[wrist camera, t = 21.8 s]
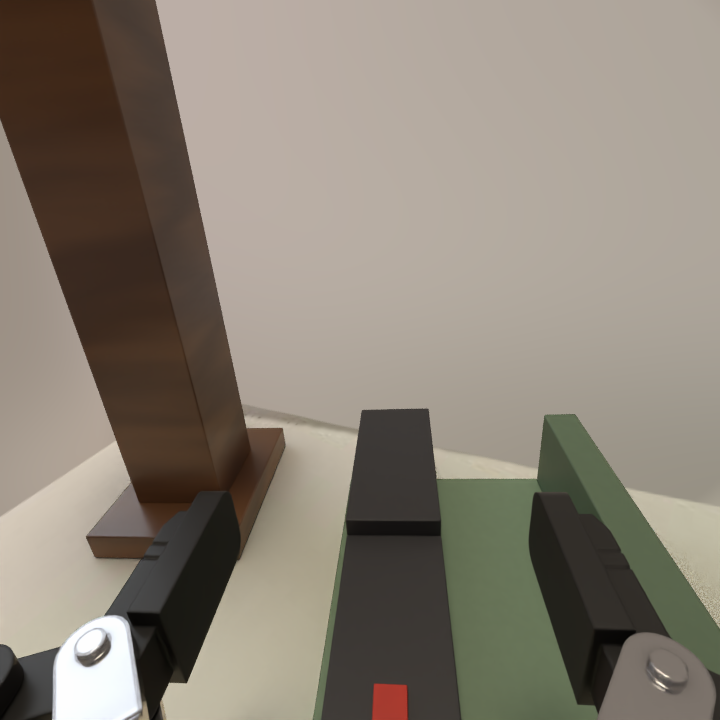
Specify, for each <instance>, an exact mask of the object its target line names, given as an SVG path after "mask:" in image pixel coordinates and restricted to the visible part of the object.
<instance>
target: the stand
mask: <svg viewBox="0 0 720 720" xmlns="http://www.w3.org/2000/svg"><path fill="white" fill-rule="evenodd" d="M0 120H1V122H2V125H3V128H4V131H5V133H6V136H7V139H8V142H9V144H10V147H11V150H12V153H13V156H14V158H15V161H16V164H17V167H18V170H19V172H20V175H21V178H22V181H23V183H24V186H25V189H26V192H27V194H28V197H29V200H30V203H31V205H32V208H33V211H34V214H35V217H36V219H37V222H38V225H39V228H40V230H41V233H42V236H43V238H44V241H45V244H46V247H47V250H48V253H49V255H50V258H51V261H52V264H53V266H54V269H55V272H56V274H57V277H58V280H59V283H60V286H61V289H62V291H63V294H64V297H65V299H66V302H67V305H68V308H69V310H70V313H71V316H72V319H73V322H74V324H75V327H76V330H77V333H78V335H79V338H80V341H81V344H82V346H83V349H84V352H85V355H86V357H87V360H88V363H89V366H90V369H91V372H92V374H93V377H94V380H95V383H96V385H97V388H98V391H99V394H100V396H101V399H102V402H103V405H104V408H105V410H106V413H107V416H108V418H109V421H110V424H111V427H112V430H113V432H114V435H115V438H116V441H117V444H118V446H119V449H120V452H121V455H122V457H123V460H124V463H125V466H126V468H127V471H128V474H129V477H130V480H131V483H130V484H129V486H128V487H127V488H126V489H125V490H124V492H123V493H122V494H121V495H120V496H119V498H118V499H117V500H116V501H115V502H114V504H113V505H112V506H111V507H110V508H109V510H108V511H107V512H106V513H105V514H104V516H103V517H102V518H101V519H100V520H99V522H98V523H97V524H96V525H95V526H94V528H93V529H92V530H91V531H90V532H89V534H88V535H87V536H86V539H87V541H88V543H89V545H90V548H91V550H92V552H93V554H94V556H95V557H115V558H143V557H144V554H145V552H146V551H147V549H148V548H149V546H150V545H152V543H153V540H154V539H155V537H156V535H157V534H158V532H159V531H160V529H161V528H162V526H163V525H164V524H165V523H166V522H167V521H168V520H170V519H171V518H172V517H173V516H174V515H175V514H177V513H178V512H179V511H188V509H189V507H190V506H191V504H192V502H193V501H194V499H195V497H196V496H197V494H198V493H199V492H201V491H229V492H230V493H231V495H232V499H233V503H234V507H235V511H236V515H237V519H238V523H239V527H240V531H241V548H240V553H239V556H238V559H237V560H239V558H240V556H241V553H242V551H243V548H244V546H245V543H246V541H247V538H248V536H249V534H250V531H251V529H252V526H253V524H254V521H255V519H256V516H257V514H258V511H259V509H260V506H261V504H262V502H263V499H264V497H265V494H266V492H267V489H268V487H269V484H270V482H271V479H272V477H273V475H274V472H275V470H276V467H277V465H278V462H279V460H280V457H281V455H282V452H283V450H284V448H285V439H284V433H283V428H246V424H245V419H244V414H243V410H242V405H241V400H240V396H239V391H238V387H237V382H236V377H235V372H234V368H233V363H232V359H231V354H230V349H229V344H228V339H227V335H226V330H225V325H224V321H223V316H222V311H221V306H220V302H219V297H218V292H217V288H216V283H215V278H214V274H213V269H212V264H211V260H210V255H209V250H208V245H207V241H206V236H205V232H204V227H203V222H202V217H201V213H200V208H199V203H198V199H197V194H196V189H195V184H194V180H193V175H192V170H191V166H190V161H189V156H188V152H187V147H186V142H185V137H184V133H183V128H182V123H181V119H180V114H179V109H178V105H177V100H176V95H175V90H174V86H173V81H172V76H171V72H170V67H169V62H168V58H167V53H166V48H165V44H164V39H163V34H162V30H161V25H160V20H159V15H158V11H157V6H156V1H155V0H0Z"/></svg>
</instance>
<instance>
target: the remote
mask: <svg viewBox="0 0 720 720" xmlns="http://www.w3.org/2000/svg"><path fill="white" fill-rule="evenodd" d="M345 521H346V530H347V538H346V545H345V552H344V559H343V566H342V573H341V580H340V588H339V595H338V602H337V609H336V616H335V623H334V630H333V637H332V645H331V652H330V659H329V666H328V673H327V680H326V687H325V694H324V702H323V709H322V716H321V720H461V711H460V702H459V693H458V684H457V675H456V665H455V656H454V647H453V638H452V629H451V620H450V611H449V602H448V593H447V584H446V574H445V565H444V556H443V547H442V538H441V515H440V506H439V497H438V488H437V480H436V471H435V462H434V453H433V445H432V436H431V428H430V418H429V411H428V409H387V410H362V413H361V420H360V427H359V433H358V440H357V446H356V453H355V460H354V466H353V473H352V480H351V486H350V493H349V500H348V506H347V513H346V520H345Z"/></svg>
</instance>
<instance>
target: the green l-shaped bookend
mask: <svg viewBox="0 0 720 720" xmlns="http://www.w3.org/2000/svg"><path fill="white" fill-rule="evenodd" d="M436 480H437V488H438V497H439V506H440V515H441V538H442V547H443V556H444V565H445V574H446V584H447V593H448V602H449V611H450V620H451V629H452V638H453V647H454V656H455V665H456V675H457V684H458V693H459V702H460V711H461V720H597V717H598V713H597V710H596V707H595V706H593V705H577V702H576V699H575V696H574V693H573V689H572V686H571V683H570V680H569V677H568V674H567V671H566V668H565V665H564V661H563V658H562V655H561V652H560V649H559V646H558V643H557V640H556V637H555V634H554V630H553V627H552V624H551V621H550V618H549V615H548V612H547V609H546V606H545V603H544V599H543V596H542V593H541V590H540V587H539V584H538V581H537V578H536V575H535V572H534V568H533V565H532V562H531V558H530V552H529V541H528V540H529V528H530V519H531V510H532V501H533V495H534V493H535V492H567V493H568V494H569V496H570V498H571V500H572V502H573V504H574V506H575V508H576V510H577V512H578V514H593V515H594V516H595V517H596V518H597V519H598V520H599V521H601V522H602V523H603V524H604V525H605V526H606V527H607V528H608V529H609V530H610V531H611V533H612V534H613V536H614V538H615V540H616V541H617V543H618V545H619V547H620V549H621V553H623V554H624V556H625V557H626V559H627V561H628V563H629V565H630V569H632V570H633V572H634V574H635V575H636V577H637V579H638V581H639V582H640V584H641V586H642V588H643V590H644V591H645V593H646V595H647V597H648V598H649V600H650V602H651V604H652V606H653V607H654V609H655V611H656V613H657V614H658V616H659V618H660V620H661V622H662V623H663V625H664V627H665V629H666V631H667V632H668V634H669V635H670V637H671V638H672V639H673V640H675V641H676V642H678V643H680V644H681V645H683V646H684V647H686V648H687V649H688V650H690V651H691V652H692V653H693V654H694V655H695V656H697V658H698V659H699V660H700V661H701V662H702V663H703V664H704V666H705V667H706V668H707V669H708V670H710V671H712V672H714V673H717V674H719V675H720V629H719V627H718V626H717V624H716V623H715V621H714V620H713V618H712V617H711V615H710V614H709V612H708V611H707V609H706V608H705V606H704V605H703V603H702V602H701V601H700V599H699V598H698V596H697V595H696V593H695V592H694V590H693V589H692V587H691V586H690V584H689V583H688V581H687V580H686V578H685V577H684V575H683V574H682V572H681V571H680V569H679V568H678V566H677V565H676V563H675V562H674V560H673V559H672V557H671V556H670V554H669V553H668V551H667V550H666V549H665V547H664V546H663V544H662V543H661V541H660V540H659V538H658V537H657V535H656V534H655V532H654V531H653V529H652V528H651V526H650V525H649V523H648V522H647V520H646V519H645V517H644V516H643V514H642V513H641V511H640V510H639V508H638V507H637V505H636V504H635V502H634V501H633V499H632V498H631V497H630V495H629V494H628V492H627V491H626V489H625V488H624V486H623V485H622V483H621V482H620V480H619V479H618V477H617V476H616V474H615V473H614V471H613V470H612V468H611V467H610V465H609V464H608V463H607V461H606V459H605V458H604V456H603V455H602V453H601V452H600V451H599V449H598V447H597V446H596V445H595V443H594V442H593V440H592V439H591V437H590V436H589V434H588V433H587V431H586V430H585V428H584V427H583V425H582V424H581V422H580V421H579V419H578V418H577V416H576V415H575V414H566V415H565V414H564V415H563V414H561V415H545V416H544V423H543V432H542V441H541V450H540V459H539V467H538V476H537V479H436ZM350 486H351V484H350ZM349 493H350V490H349ZM348 500H349V496H348ZM347 506H348V503H347ZM346 513H347V509H346ZM345 520H346V515H345ZM346 538H347V530H346V521H345V522H344V528H343V534H342V540H341V547H340V553H339V559H338V565H337V572H336V578H335V584H334V591H333V597H332V603H331V609H330V616H329V622H328V628H327V635H326V641H325V647H324V653H323V660H322V666H321V672H320V679H319V685H318V691H317V697H316V704H315V710H314V716H313V720H321V716H322V709H323V702H324V694H325V687H326V680H327V673H328V666H329V659H330V652H331V645H332V637H333V630H334V623H335V616H336V609H337V602H338V595H339V588H340V580H341V573H342V566H343V559H344V552H345V545H346Z"/></svg>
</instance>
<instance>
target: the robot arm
mask: <svg viewBox="0 0 720 720" xmlns="http://www.w3.org/2000/svg"><path fill="white" fill-rule="evenodd" d="M528 541H529V552H530V558H531V562H532V565H533V568H534V572H535V575H536V578H537V581H538V584H539V587H540V590H541V593H542V596H543V599H544V603H545V606H546V609H547V612H548V615H549V618H550V621H551V624H552V627H553V630H554V634H555V637H556V640H557V643H558V646H559V649H560V652H561V655H562V658H563V661H564V665H565V668H566V671H567V674H568V677H569V680H570V683H571V686H572V689H573V693H574V696H575V699H576V702H577V705H593V706H595V707H596V710H597V713H598V717H597V720H720V675H719V674H717V673H714V672H712V671H710V670H708V669H707V668H706V667H705V666H704V664H703V663H702V662H701V661H700V660H699V659H698V658H697V656H695V655H694V654H693V653H692V652H691V651H690V650H688V649H687V648H686V647H684V646H683V645H681V644H680V643H678V642H676V641H675V640H673V639H672V638H671V637H670V635H669V634H668V632H667V631H666V629H665V627H664V625H663V623H662V622H661V620H660V618H659V616H658V614H657V613H656V611H655V609H654V607H653V606H652V604H651V602H650V600H649V598H648V597H647V595H646V593H645V591H644V590H643V588H642V586H641V584H640V582H639V581H638V579H637V577H636V575H635V574H634V572H633V570H632V569H630V565H629V563H628V561H627V559H626V557H625V556H624V554H623V553H621V549H620V547H619V545H618V543H617V541H616V540H615V538H614V536H613V534H612V533H611V531H610V530H609V529H608V528H607V527H606V526H605V525H604V524H603V523H602V522H601V521H599V520H598V519H597V518H596V517H595V516H594V515H593V514H578V512H577V510H576V508H575V506H574V504H573V502H572V500H571V498H570V496H569V494H568V493H567V492H535V493H534V495H533V501H532V510H531V519H530V528H529V540H528ZM240 548H241V531H240V527H239V523H238V519H237V515H236V511H235V507H234V503H233V499H232V495H231V493H230V492H229V491H201V492H199V493H198V494H197V496H196V497H195V499H194V501H193V502H192V504H191V506H190V507H189V509H188V511H179V512H178V513H177V514H175V515H174V516H173V517H172V518H171V519H170V520H168V521H167V522H166V523H165V524H164V525H163V526H162V528H161V529H160V531H159V532H158V534H157V535H156V537H155V539H154V540H153V543H152V545H150V546H149V548H148V549H147V551H146V552H145V554H144V557H143V559H141V560H140V562H139V563H138V565H137V566H136V568H135V569H134V571H133V573H132V574H131V576H130V577H129V579H128V580H127V582H126V583H125V585H124V586H123V588H122V589H121V591H120V593H119V594H118V596H117V597H116V599H115V600H114V602H113V603H112V605H111V606H110V608H109V610H108V611H107V613H106V614H105V615H104V616H102V617H98V618H96V619H93V620H91V621H89V622H87V623H86V624H84V625H83V626H81V627H80V628H78V629H77V630H76V631H75V632H73V633H72V634H71V635H70V636H69V637H68V638H67V639H66V641H65V642H64V643H63V644H62V646H61V647H58V648H54V649H51V650H47V651H44V652H40V653H36V654H33V655H29V656H26V657H22V658H18V659H17V658H16V656H15V655H14V653H13V651H12V650H11V648H10V647H8V646H6V645H3V644H0V720H166V715H165V710H164V705H163V702H162V697H163V695H164V693H165V690H166V688H167V686H168V684H169V682H170V683H187V682H188V679H189V677H190V674H191V672H192V669H193V667H194V664H195V662H196V659H197V657H198V655H199V652H200V650H201V647H202V645H203V642H204V640H205V637H206V635H207V633H208V630H209V628H210V625H211V623H212V620H213V618H214V615H215V613H216V610H217V608H218V606H219V603H220V601H221V598H222V596H223V593H224V591H225V588H226V586H227V583H228V581H229V579H230V576H231V574H232V571H233V569H234V566H235V564H236V561H237V559H238V556H239V553H240Z"/></svg>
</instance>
